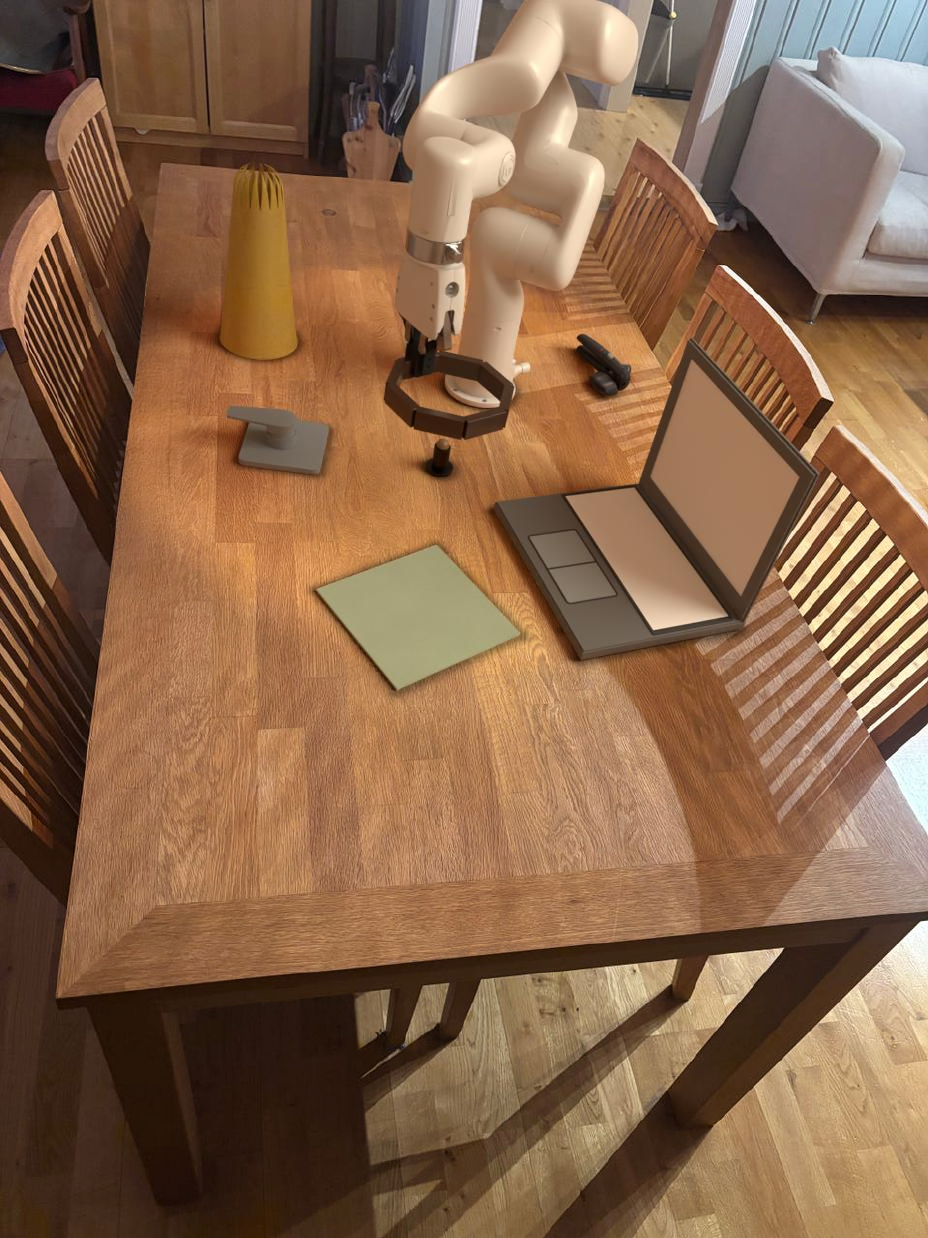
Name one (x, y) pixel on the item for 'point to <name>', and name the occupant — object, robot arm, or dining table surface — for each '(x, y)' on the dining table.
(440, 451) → the post
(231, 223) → the piping tip
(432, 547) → the sage mat
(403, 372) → the hanging ring
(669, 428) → the laptop
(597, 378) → the can opener
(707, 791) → the dining table surface
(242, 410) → the shower valve
